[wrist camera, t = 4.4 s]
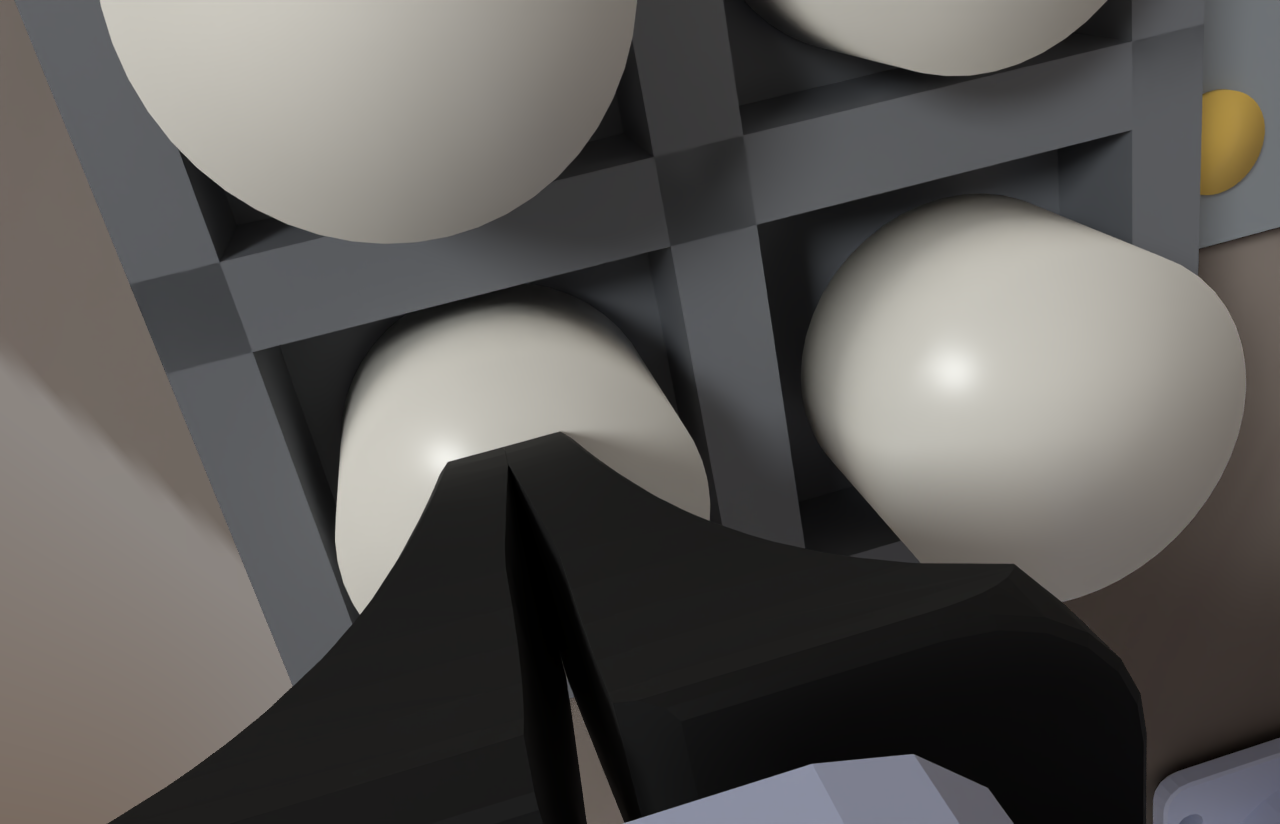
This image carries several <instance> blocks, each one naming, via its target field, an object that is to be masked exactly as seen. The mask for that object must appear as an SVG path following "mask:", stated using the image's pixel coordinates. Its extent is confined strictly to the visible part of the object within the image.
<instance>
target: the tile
mask: <svg viewBox="0 0 1280 824" xmlns="http://www.w3.org/2000/svg"><path fill="white" fill-rule="evenodd" d="M1278 227H1280V0H1205V11H1204V52H1203V94H1202V135H1201V176H1200V218H1199V249H1200V248H1203V247H1207V246H1211V245H1214V244H1218V243H1222V242H1226V241H1229V240H1233V239H1237V238H1241V237H1244V236H1248V235H1252V234H1255V233H1259V232H1263V231H1267V230H1270V229H1274V228H1278Z"/></svg>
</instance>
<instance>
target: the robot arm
mask: <svg viewBox="0 0 1280 824" xmlns="http://www.w3.org/2000/svg"><path fill="white" fill-rule="evenodd" d="M504 448H505V449H504ZM562 662H563V663H562ZM565 673H566V674H565ZM566 677H567V678H566ZM567 679H568V682H569V685H570V687H571V690H572V692H573V695H574V697H575V700H576V702H577V705H578V707H579V710H580V712H581V715H582V717H583V720H584V722H585V725H586V727H587V730H588V732H589V735H590V737H591V740H592V742H593V745H594V747H595V750H596V752H597V755H598V758H599V760H600V763H601V765H602V768H603V770H604V773H605V775H606V778H607V780H608V783H609V785H610V788H611V790H612V793H613V795H614V798H615V800H616V803H617V805H618V808H619V810H620V813H621V815H622V818H623V820H624V823H623V824H1146V740H1147V733H1146V727H1145V720H1144V714H1143V708H1142V701H1141V695H1140V692H1139V690H1138V689H1137V687H1136V685H1135V683H1134V682H1133V680H1132V678H1131V676H1130V674H1129V673H1128V671H1127V669H1126V667H1125V666H1124V664H1123V662H1122V660H1121V659H1120V658H1119V657H1118V656H1117V655H1116V654H1115V653H1114V652H1113V651H1112V650H1111V649H1110V648H1109V647H1108V646H1107V645H1106V644H1105V643H1104V642H1103V641H1102V640H1101V639H1100V638H1099V637H1098V636H1096V635H1095V634H1094V633H1093V632H1092V631H1091V630H1090V629H1089V628H1088V626H1087V625H1086V624H1085V623H1084V622H1082V621H1081V620H1080V619H1079V618H1078V617H1077V616H1076V615H1075V614H1074V613H1073V612H1072V611H1071V610H1070V609H1068V608H1067V607H1066V606H1065V605H1064V604H1063V603H1062V602H1061V601H1060V600H1059V599H1058V598H1056V597H1055V596H1054V595H1053V594H1051V593H1050V592H1049V591H1047V590H1046V589H1045V588H1044V587H1042V586H1041V585H1040V584H1039V583H1037V582H1036V581H1035V580H1034V579H1032V578H1031V577H1030V576H1029V575H1027V574H1026V573H1025V572H1024V571H1022V570H1021V569H1020V568H1019V567H1018V566H1016V565H1015V564H980V563H909V562H898V561H888V560H878V559H868V558H857V557H851V556H844V555H837V554H831V553H824V552H819V551H814V550H810V549H805V548H801V547H796V546H792V545H787V544H782V543H778V542H774V541H770V540H766V539H763V538H759V537H755V536H752V535H749V534H746V533H743V532H740V531H737V530H734V529H731V528H728V527H726V526H723V525H720V524H717V523H714V522H711V521H708V520H706V519H704V518H701V517H699V516H696V515H694V514H692V513H689V512H687V511H685V510H683V509H681V508H679V507H677V506H675V505H673V504H671V503H669V502H667V501H665V500H662V499H660V498H658V497H657V496H655V495H653V494H651V493H650V492H648V491H646V490H645V489H643V488H641V487H640V486H638V485H637V484H635V483H633V482H632V481H630V480H629V479H627V478H625V477H624V476H622V475H621V474H619V473H618V472H616V471H615V470H613V469H612V468H610V467H609V466H607V465H606V464H605V463H603V462H602V461H600V460H599V459H598V458H596V457H595V456H594V455H592V454H591V453H590V452H588V451H587V450H586V449H584V448H583V447H582V446H581V445H579V444H578V443H577V442H576V441H575V440H573V439H572V438H571V437H569V436H567V435H566V434H564V433H562V432H561V431H559V432H556V433H552V434H548V435H545V436H541V437H538V438H534V439H530V440H527V441H523V442H520V443H516V444H512V445H508V446H505V447H501V448H497V449H494V450H490V451H486V452H483V453H479V454H475V455H471V456H468V457H464V458H460V459H457V460H453V461H449V462H447V464H446V465H445V467H444V468H443V470H442V472H441V473H440V475H439V477H438V480H437V482H436V484H435V487H434V489H433V491H432V494H431V496H430V498H429V500H428V502H427V504H426V507H425V509H424V511H423V513H422V515H421V517H420V519H419V521H418V523H417V525H416V527H415V528H414V530H413V532H412V534H411V536H410V538H409V539H408V541H407V543H406V545H405V547H404V549H403V551H402V552H401V554H400V556H399V558H398V559H397V561H396V563H395V564H394V566H393V567H392V569H391V571H390V572H389V574H388V575H387V577H386V578H385V580H384V581H383V583H382V584H381V586H380V587H379V589H378V591H377V592H376V594H375V595H374V597H373V598H372V600H371V601H370V602H369V604H368V605H367V606H366V608H365V609H364V610H363V611H362V613H361V614H360V615H359V617H358V618H357V619H356V620H355V622H354V623H353V624H352V625H351V626H350V627H349V629H348V630H347V631H346V632H345V633H344V634H343V636H342V637H341V638H340V639H339V640H338V641H337V642H336V644H335V645H334V646H333V647H332V648H331V649H330V650H329V651H328V653H327V654H326V655H325V656H324V657H323V658H322V659H321V660H320V661H319V662H318V663H317V664H316V665H315V666H314V667H313V668H312V669H311V670H310V671H308V672H307V673H306V674H305V675H304V676H303V677H302V678H301V679H300V680H299V681H298V682H297V683H296V684H295V685H294V686H293V687H292V688H291V689H290V690H289V691H287V692H286V693H285V694H284V695H283V696H282V697H281V698H280V699H279V700H278V701H277V702H276V703H275V704H274V705H273V706H272V707H271V708H269V709H268V710H267V711H266V712H265V713H264V714H263V715H261V716H260V717H259V718H258V719H257V720H256V721H254V722H253V723H252V724H250V725H249V726H248V727H247V728H246V729H244V730H243V731H242V732H241V733H239V734H238V735H237V736H236V737H234V738H233V739H232V740H231V741H229V742H228V743H227V744H226V745H224V746H223V747H221V748H220V749H219V750H217V751H216V752H215V753H213V754H212V755H211V756H209V757H208V758H207V759H205V760H204V761H203V762H201V763H200V764H199V765H197V766H196V767H194V768H193V769H192V770H190V771H189V772H187V773H186V774H184V775H183V776H182V777H180V778H179V779H177V780H176V781H174V782H173V783H171V784H170V785H169V786H167V787H166V788H164V789H162V790H161V791H159V792H158V793H156V794H154V795H153V796H151V797H150V798H148V799H146V800H145V801H143V802H141V803H140V804H139V805H137V806H135V807H133V808H132V809H130V810H129V811H127V812H126V813H124V814H122V815H121V816H119V817H117V818H116V819H114V820H113V821H111V822H109V823H108V824H587V822H586V815H585V808H584V800H583V793H582V786H581V778H580V771H579V764H578V757H577V749H576V742H575V735H574V728H573V721H572V713H571V706H570V699H569V692H568V685H567ZM1153 824H1280V738H1277V739H1274V740H1271V741H1268V742H1265V743H1262V744H1259V745H1256V746H1253V747H1250V748H1247V749H1244V750H1241V751H1238V752H1235V753H1231V754H1228V755H1225V756H1222V757H1219V758H1216V759H1213V760H1210V761H1207V762H1204V763H1201V764H1198V765H1195V766H1192V767H1189V768H1186V769H1183V770H1180V771H1177V772H1175V773H1173V774H1171V775H1169V776H1167V777H1166V778H1165V779H1164V780H1163V781H1161V782H1160V784H1159V785H1158V787H1157V788H1156V790H1155V794H1154V798H1153Z"/></svg>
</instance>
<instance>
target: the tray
mask: <svg viewBox="0 0 1280 824" xmlns="http://www.w3.org/2000/svg"><path fill="white" fill-rule="evenodd" d="M15 3H16V5H17V8H18V10H19V13H20V15H21V18H22V20H23V23H24V25H25V28H26V30H27V32H28V35H29V37H30V40H31V42H32V45H33V47H34V50H35V52H36V55H37V57H38V60H39V62H40V64H41V67H42V69H43V72H44V74H45V77H46V79H47V82H48V84H49V87H50V89H51V92H52V94H53V96H54V99H55V101H56V104H57V106H58V109H59V111H60V114H61V116H62V119H63V121H64V124H65V126H66V128H67V131H68V133H69V136H70V138H71V141H72V143H73V146H74V148H75V151H76V153H77V156H78V158H79V160H80V163H81V165H82V168H83V170H84V173H85V175H86V178H87V180H88V183H89V185H90V188H91V190H92V192H93V195H94V197H95V200H96V202H97V205H98V207H99V210H100V212H101V215H102V217H103V220H104V222H105V225H106V227H107V229H108V232H109V234H110V237H111V239H112V242H113V244H114V247H115V249H116V252H117V254H118V257H119V259H120V261H121V264H122V266H123V269H124V271H125V274H126V276H127V279H128V281H129V284H130V286H131V289H132V291H133V293H134V296H135V298H136V301H137V303H138V306H139V308H140V311H141V313H142V316H143V318H144V321H145V323H146V325H147V328H148V330H149V333H150V335H151V338H152V340H153V343H154V345H155V348H156V350H157V353H158V355H159V357H160V360H161V362H162V365H163V367H164V370H165V372H166V375H167V377H168V380H169V382H170V385H171V387H172V389H173V392H174V394H175V397H176V399H177V402H178V404H179V407H180V409H181V412H182V414H183V417H184V419H185V422H186V424H187V426H188V429H189V431H190V434H191V436H192V439H193V441H194V444H195V446H196V449H197V451H198V454H199V456H200V458H201V461H202V463H203V466H204V468H205V471H206V473H207V476H208V478H209V481H210V483H211V486H212V488H213V490H214V493H215V495H216V498H217V500H218V503H219V505H220V508H221V510H222V513H223V515H224V518H225V520H226V522H227V525H228V527H229V530H230V532H231V535H232V537H233V540H234V542H235V545H236V547H237V550H238V552H239V554H240V557H241V559H242V562H243V564H244V567H245V569H246V572H247V574H248V577H249V579H250V582H251V584H252V586H253V589H254V591H255V594H256V596H257V599H258V601H259V604H260V606H261V608H262V611H263V614H264V616H265V618H266V621H267V623H268V626H269V628H270V631H271V633H272V635H273V638H274V641H275V643H276V646H277V648H278V651H279V653H280V655H281V658H282V660H283V663H284V665H285V668H286V670H287V672H288V675H289V677H290V680H291V683H292V685H293V686H294V685H295V684H296V683H297V682H298V681H299V680H300V679H301V678H302V677H303V676H304V675H305V674H306V673H307V672H308V671H310V670H311V669H312V668H313V667H314V666H315V665H316V664H317V663H318V662H319V661H320V660H321V659H322V658H323V657H324V656H325V655H326V654H327V653H328V651H329V650H330V649H331V648H332V647H333V646H334V645H335V644H336V642H337V641H338V640H339V639H340V638H341V637H342V636H343V634H344V633H345V632H346V631H347V630H348V629H349V627H350V626H351V625H352V624H353V623H354V622H355V620H356V619H357V618H358V617H359V615H360V614H359V612H358V611H357V609H356V608H355V606H354V605H353V603H352V601H351V599H350V597H349V594H348V592H347V590H346V588H345V585H344V583H343V580H342V576H341V572H340V569H339V565H338V561H337V552H336V544H335V528H336V508H337V493H338V477H339V462H340V446H341V431H342V417H343V412H344V407H345V401H346V397H347V394H348V391H349V389H350V386H351V383H352V380H353V378H354V376H355V374H356V372H357V370H358V368H359V366H360V364H361V362H362V361H363V359H364V358H365V356H366V355H367V353H368V352H369V351H370V349H371V348H372V346H373V345H374V344H375V343H376V341H377V340H378V339H379V338H380V337H381V336H382V335H383V334H384V333H385V332H386V331H387V330H388V329H389V328H390V327H391V326H392V325H393V324H395V323H396V322H397V321H398V320H399V319H401V318H402V317H403V316H404V315H406V314H407V313H410V312H414V311H418V310H421V309H425V308H429V307H433V306H437V305H441V304H445V303H449V302H453V301H457V300H461V299H465V298H469V297H473V296H477V295H481V294H485V293H489V292H493V291H497V290H501V289H505V288H509V287H512V286H516V285H520V284H524V283H526V284H533V285H538V286H543V287H548V288H552V289H555V290H557V291H560V292H563V293H566V294H569V295H571V296H573V297H575V298H577V299H579V300H581V301H583V302H585V303H588V304H589V305H591V306H592V307H594V308H595V309H596V310H598V311H599V312H601V313H602V314H604V315H605V316H606V317H607V318H608V319H610V320H611V321H612V322H613V323H614V324H615V325H616V326H617V327H618V328H619V329H620V330H621V331H622V332H623V333H624V335H625V336H626V337H627V338H628V339H629V340H630V342H631V343H632V344H633V346H634V348H635V349H636V351H637V352H638V354H639V355H640V357H641V359H642V360H643V362H644V363H645V365H646V366H647V368H648V370H649V371H650V373H651V374H652V376H653V377H654V379H655V381H656V382H657V384H658V385H659V387H660V388H661V390H662V392H663V393H664V395H665V396H666V398H667V400H668V401H669V403H670V404H671V406H672V407H673V409H674V411H675V412H676V414H677V415H678V417H679V418H680V420H681V422H682V423H683V425H684V426H685V428H686V430H687V431H688V433H689V434H690V436H691V438H692V439H693V441H694V443H695V445H696V447H697V450H698V452H699V454H700V457H701V459H702V461H703V465H704V469H705V473H706V476H707V480H708V487H709V496H710V521H711V522H714V523H717V524H720V525H723V526H726V527H728V528H731V529H734V530H737V531H740V532H743V533H746V534H749V535H752V536H755V537H759V538H763V539H766V540H770V541H774V542H778V543H782V544H787V545H792V546H796V547H801V548H805V549H810V550H814V551H819V552H824V553H831V554H837V555H844V556H851V557H857V558H868V559H878V560H888V561H898V562H909V563H920V562H919V560H918V559H917V558H916V557H915V556H914V555H913V554H912V552H911V551H910V550H909V549H908V548H907V547H906V546H905V544H904V543H903V542H902V541H901V540H900V539H899V538H898V536H897V535H896V534H895V533H894V532H893V531H892V530H891V528H890V527H889V526H888V525H887V524H886V523H885V522H884V520H883V519H882V518H881V517H880V516H879V515H878V514H877V512H876V511H875V510H874V509H873V508H872V507H871V505H870V504H869V503H868V502H867V501H866V500H865V499H864V497H863V496H862V495H861V494H860V493H859V492H858V491H857V489H856V488H855V487H854V486H853V485H852V484H851V483H850V481H849V480H848V479H847V478H846V477H845V476H844V475H843V473H842V472H841V471H840V470H839V469H838V468H837V467H836V465H835V464H834V463H833V462H832V461H831V459H830V458H829V457H828V456H827V454H826V453H825V452H824V451H823V449H822V448H821V446H820V444H819V443H818V441H817V439H816V437H815V436H814V434H813V432H812V429H811V426H810V424H809V421H808V418H807V416H806V412H805V407H804V403H803V398H802V387H801V365H802V354H803V349H804V343H805V338H806V334H807V331H808V328H809V325H810V322H811V319H812V316H813V313H814V311H815V309H816V307H817V305H818V302H819V300H820V298H821V296H822V294H823V292H824V291H825V289H826V287H827V286H828V284H829V283H830V281H831V279H832V278H833V276H834V275H835V273H836V272H837V271H838V270H839V268H840V267H841V266H842V264H843V263H844V262H845V261H846V259H847V258H848V257H849V256H850V255H851V254H852V253H853V252H854V251H855V250H856V249H857V248H858V247H859V246H860V245H861V244H862V243H863V242H864V241H865V240H866V239H867V238H869V237H870V236H871V235H872V234H873V233H875V232H876V231H877V230H878V229H880V228H881V227H882V226H884V225H885V224H887V223H889V222H890V221H892V220H893V219H895V218H897V217H898V216H900V215H901V214H903V213H906V212H908V211H910V210H912V209H914V208H916V207H918V206H920V205H923V204H926V203H929V202H932V201H935V200H938V199H941V198H946V197H952V196H957V195H962V194H981V193H985V194H995V195H1004V196H1008V197H1012V198H1016V199H1020V200H1023V201H1026V202H1028V203H1031V204H1033V205H1036V206H1038V207H1041V208H1043V209H1045V210H1048V211H1050V212H1053V213H1055V214H1058V215H1060V216H1063V217H1065V218H1068V219H1070V220H1073V221H1075V222H1078V223H1080V224H1082V225H1085V226H1087V227H1090V228H1092V229H1095V230H1097V231H1100V232H1102V233H1105V234H1107V235H1110V236H1112V237H1114V238H1117V239H1119V240H1122V241H1124V242H1127V243H1129V244H1132V245H1134V246H1137V247H1139V248H1142V249H1144V250H1147V251H1149V252H1151V253H1154V254H1156V255H1159V256H1161V257H1164V258H1166V259H1168V260H1171V261H1173V262H1175V263H1177V264H1180V265H1182V266H1183V267H1185V268H1186V269H1188V270H1190V271H1191V272H1193V273H1194V274H1196V275H1197V276H1198V259H1199V218H1200V176H1201V135H1202V94H1203V52H1204V11H1205V0H1107V1H1106V2H1105V3H1104V4H1103V5H1102V6H1101V7H1100V8H1099V9H1098V10H1097V11H1096V12H1095V13H1094V14H1093V15H1092V16H1091V18H1090V19H1089V20H1088V21H1087V22H1085V23H1084V24H1083V25H1082V26H1080V27H1079V28H1078V29H1077V30H1075V31H1074V32H1073V33H1072V34H1070V35H1069V36H1068V37H1067V38H1065V39H1064V40H1062V41H1061V42H1059V43H1058V44H1056V45H1054V46H1053V47H1051V48H1050V49H1048V50H1046V51H1045V52H1043V53H1041V54H1039V55H1037V56H1035V57H1033V58H1031V59H1028V60H1026V61H1024V62H1022V63H1020V64H1017V65H1014V66H1011V67H1007V68H1004V69H1001V70H998V71H994V72H988V73H983V74H977V75H971V76H942V75H934V74H926V73H920V72H916V71H912V70H908V69H904V68H900V67H896V66H892V65H888V64H884V63H880V62H876V61H872V60H868V59H863V58H859V57H855V56H851V55H847V54H843V53H839V52H835V51H831V50H827V49H823V48H820V47H816V46H813V45H809V44H806V43H804V42H801V41H799V40H797V39H795V38H793V37H790V36H788V35H786V34H784V33H783V32H781V31H780V30H778V29H777V28H775V27H774V26H772V25H771V24H769V23H768V22H767V21H765V20H764V19H763V18H762V17H761V16H760V15H759V14H757V13H756V12H755V11H754V10H753V9H752V8H751V7H750V6H749V5H748V4H747V3H746V1H745V0H637V6H636V14H635V22H634V31H633V37H632V41H631V45H630V49H629V53H628V57H627V61H626V65H625V69H624V72H623V74H622V77H621V79H620V82H619V85H618V87H617V90H616V92H615V95H614V98H613V100H612V102H611V104H610V106H609V107H608V109H607V111H606V113H605V115H604V117H603V119H602V121H601V122H600V124H599V126H598V128H597V129H596V131H595V132H594V134H593V135H592V136H591V138H590V139H589V141H588V142H587V143H586V145H585V146H584V148H583V149H582V150H581V152H580V153H579V154H578V156H577V157H576V158H575V159H574V160H573V161H572V162H571V163H570V164H569V165H568V166H567V167H566V169H565V170H564V171H563V172H562V173H561V174H560V175H559V176H558V177H557V178H556V179H555V180H554V181H552V182H551V183H550V184H549V185H547V186H546V187H545V188H544V189H543V190H541V191H540V192H539V193H538V194H537V195H535V196H534V197H533V198H531V199H530V200H528V201H527V202H525V203H524V204H522V205H520V206H519V207H517V208H516V209H514V210H512V211H511V212H509V213H508V214H506V215H504V216H502V217H499V218H497V219H495V220H493V221H491V222H489V223H486V224H484V225H482V226H480V227H478V228H474V229H471V230H468V231H465V232H462V233H459V234H455V235H452V236H449V237H444V238H438V239H433V240H427V241H421V242H413V243H393V244H380V243H366V242H353V241H348V240H343V239H338V238H333V237H328V236H323V235H318V234H315V233H312V232H309V231H306V230H303V229H300V228H297V227H294V226H291V225H288V224H286V223H284V222H281V221H279V220H277V219H275V218H273V217H271V216H269V215H267V214H265V213H262V212H260V211H258V210H256V209H254V208H253V207H251V206H249V205H248V204H246V203H245V202H243V201H241V200H240V199H238V198H237V197H235V196H233V195H232V194H230V193H229V192H227V191H225V190H224V189H223V188H222V187H220V186H219V185H218V184H217V183H215V182H214V181H213V180H212V179H210V178H209V177H208V176H207V175H205V174H204V173H203V172H202V171H201V170H199V169H198V168H197V167H196V166H195V165H194V164H193V163H192V162H191V161H190V160H189V159H188V158H187V157H186V156H185V155H184V154H183V153H182V152H181V151H180V150H179V149H178V148H177V147H176V146H175V145H174V144H173V143H172V142H171V141H170V139H169V138H168V137H167V135H166V134H165V133H164V132H163V130H162V129H161V128H160V126H159V125H158V124H157V123H156V121H155V120H154V119H153V117H152V116H151V115H150V114H149V112H148V111H147V109H146V108H145V106H144V104H143V103H142V101H141V99H140V98H139V96H138V94H137V93H136V91H135V89H134V88H133V86H132V84H131V83H130V81H129V79H128V77H127V75H126V73H125V71H124V68H123V66H122V64H121V62H120V59H119V57H118V55H117V53H116V50H115V48H114V46H113V44H112V41H111V37H110V34H109V31H108V28H107V24H106V21H105V18H104V15H103V11H102V8H101V4H100V0H15ZM567 685H568V692H569V699H570V698H573V697H574V695H573V692H572V690H571V687H570V685H569V682H568V680H567Z"/></svg>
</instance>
